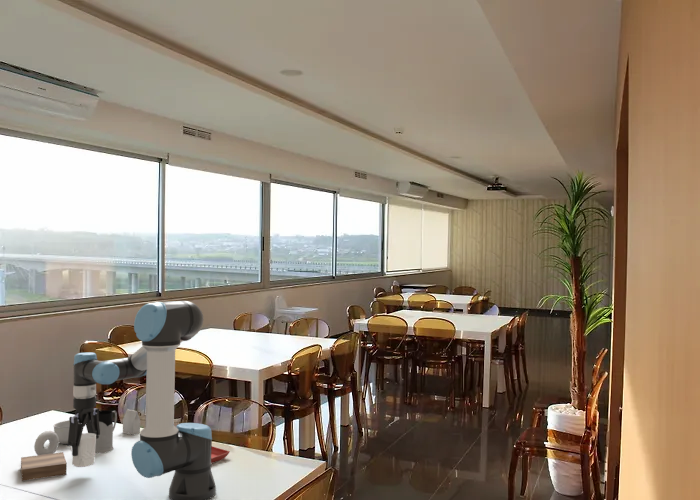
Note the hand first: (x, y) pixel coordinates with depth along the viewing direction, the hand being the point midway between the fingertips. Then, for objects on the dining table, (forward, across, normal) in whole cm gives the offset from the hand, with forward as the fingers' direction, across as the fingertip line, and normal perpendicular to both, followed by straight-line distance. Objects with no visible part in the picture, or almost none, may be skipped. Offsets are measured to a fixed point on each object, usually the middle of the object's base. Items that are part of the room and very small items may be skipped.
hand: (84, 460), depth 217 cm
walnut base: (+5, 0, +17) cm, 18 cm away
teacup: (+5, +34, +31) cm, 47 cm away
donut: (+5, +14, +27) cm, 31 cm away
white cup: (+1, 0, 0) cm, 1 cm away
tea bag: (+5, +52, +14) cm, 54 cm away
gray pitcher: (+5, +31, +12) cm, 33 cm away
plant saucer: (+7, +27, -30) cm, 41 cm away
